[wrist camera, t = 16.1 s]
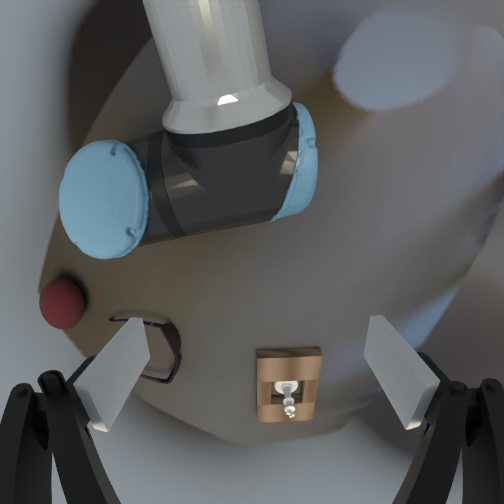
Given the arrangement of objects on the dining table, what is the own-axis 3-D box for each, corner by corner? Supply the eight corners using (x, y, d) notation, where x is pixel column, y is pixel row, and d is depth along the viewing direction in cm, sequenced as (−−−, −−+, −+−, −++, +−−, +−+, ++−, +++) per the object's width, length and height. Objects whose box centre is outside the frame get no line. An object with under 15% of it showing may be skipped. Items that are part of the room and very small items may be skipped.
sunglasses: (184, 374, 52) (179, 389, 48) (117, 362, 52) (108, 374, 47) (181, 317, 49) (174, 330, 44) (108, 307, 49) (96, 317, 44)
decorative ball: (60, 265, 47) (30, 279, 38) (95, 284, 48) (68, 302, 38) (56, 305, 49) (30, 323, 40) (90, 324, 50) (66, 346, 40)
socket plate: (257, 413, 54) (257, 422, 51) (256, 349, 50) (257, 358, 47) (310, 410, 54) (312, 419, 51) (319, 347, 50) (322, 355, 47)
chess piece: (283, 371, 51) (288, 404, 42) (302, 380, 52) (310, 413, 42) (269, 386, 52) (271, 420, 43) (288, 395, 53) (293, 428, 43)
